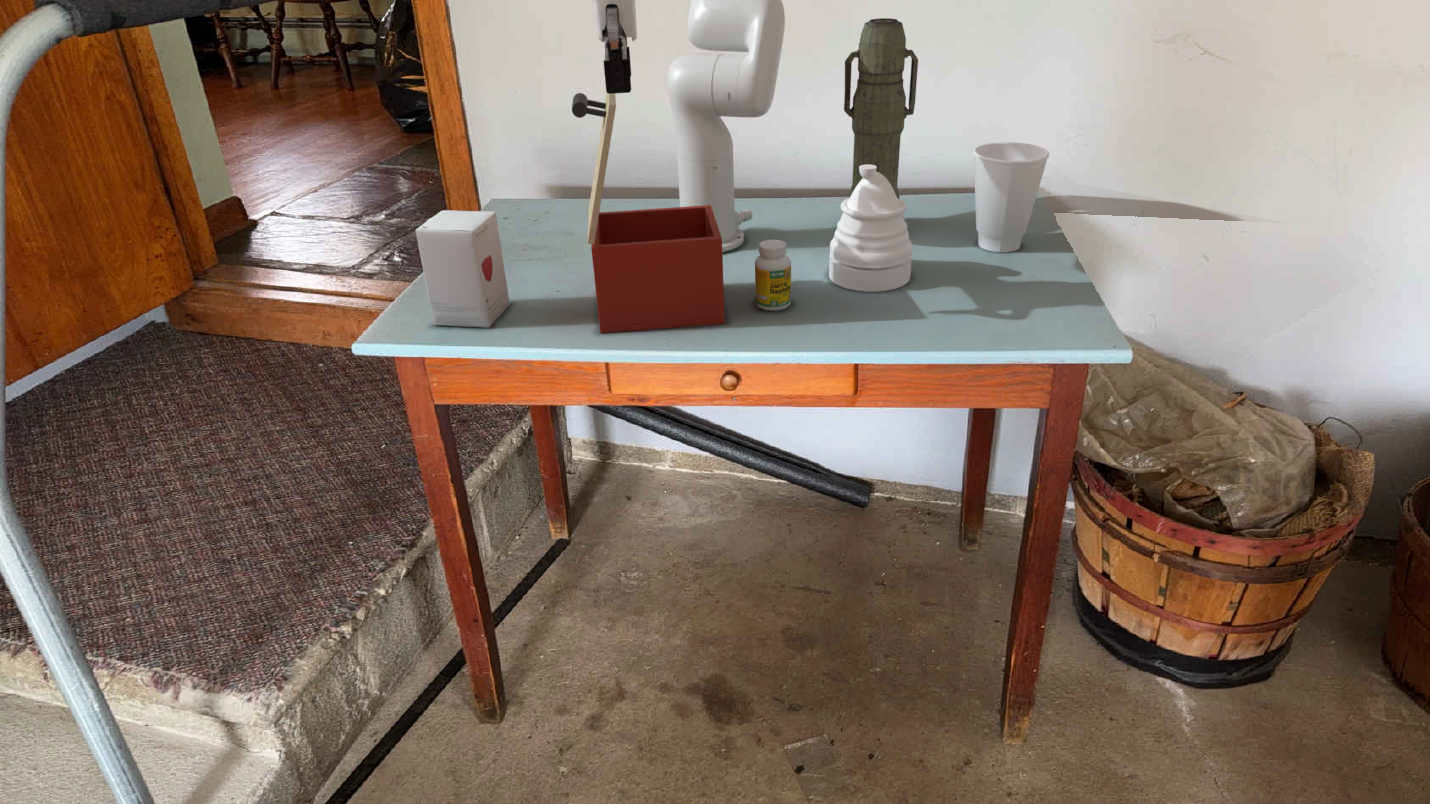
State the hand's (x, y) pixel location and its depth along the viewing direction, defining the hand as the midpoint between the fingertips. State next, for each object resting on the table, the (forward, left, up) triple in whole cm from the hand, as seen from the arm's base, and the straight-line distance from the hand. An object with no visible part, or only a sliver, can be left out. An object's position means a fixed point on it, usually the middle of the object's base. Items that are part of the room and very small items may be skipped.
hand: (619, 85), depth 123 cm
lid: (+2, -2, -10) cm, 11 cm away
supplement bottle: (-15, +14, -33) cm, 39 cm away
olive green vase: (-52, +6, -33) cm, 62 cm away
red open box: (-3, +2, -33) cm, 33 cm away
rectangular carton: (+17, -18, -33) cm, 41 cm away
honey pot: (-33, +19, -33) cm, 50 cm away
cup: (-58, +28, -33) cm, 72 cm away
